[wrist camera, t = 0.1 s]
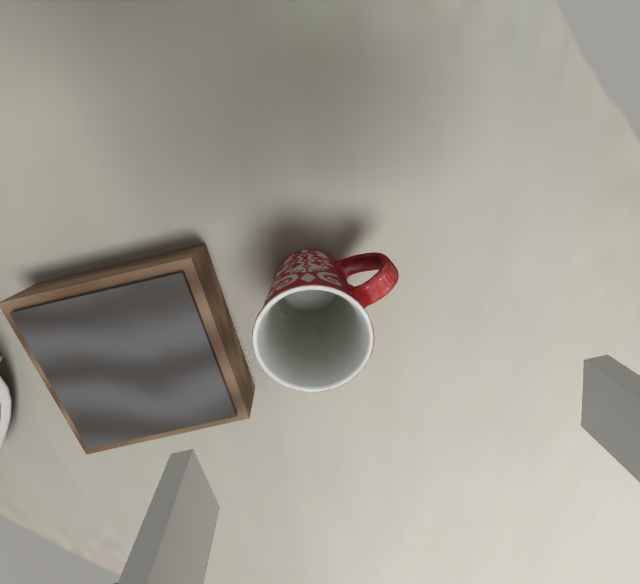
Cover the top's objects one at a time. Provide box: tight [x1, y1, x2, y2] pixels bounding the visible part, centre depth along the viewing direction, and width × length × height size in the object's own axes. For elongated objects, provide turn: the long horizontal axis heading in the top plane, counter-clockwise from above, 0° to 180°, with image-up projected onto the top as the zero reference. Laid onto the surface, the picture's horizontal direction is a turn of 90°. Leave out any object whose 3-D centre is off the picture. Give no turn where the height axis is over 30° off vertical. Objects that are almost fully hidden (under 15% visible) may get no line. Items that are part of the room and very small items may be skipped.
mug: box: [252, 249, 399, 392], centre depth 33 cm, size 13×9×14 cm
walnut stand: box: [0, 244, 255, 454], centre depth 38 cm, size 18×18×6 cm
